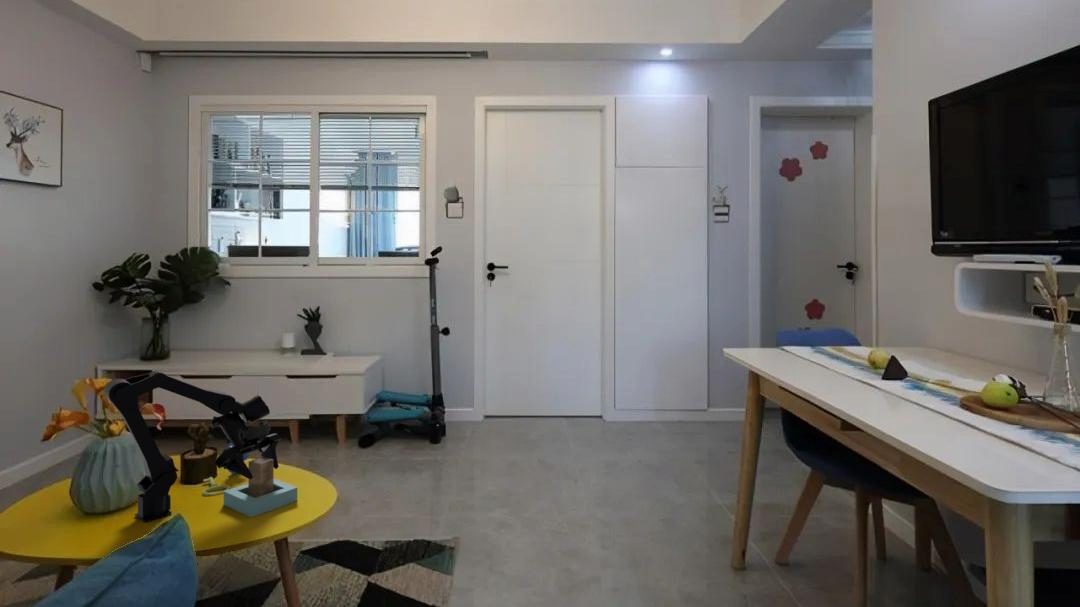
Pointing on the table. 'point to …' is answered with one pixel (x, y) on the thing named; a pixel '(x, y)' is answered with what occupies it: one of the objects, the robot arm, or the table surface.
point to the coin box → (260, 498)
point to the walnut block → (261, 477)
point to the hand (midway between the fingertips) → (264, 473)
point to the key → (213, 487)
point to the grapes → (243, 458)
